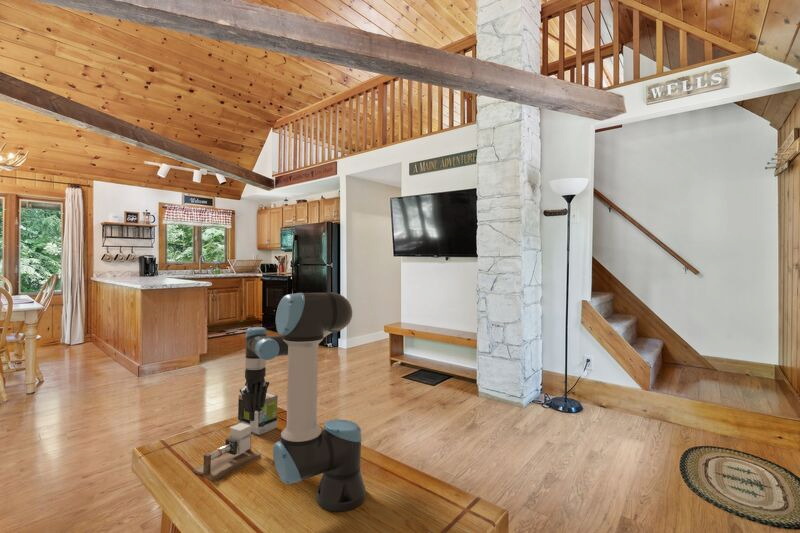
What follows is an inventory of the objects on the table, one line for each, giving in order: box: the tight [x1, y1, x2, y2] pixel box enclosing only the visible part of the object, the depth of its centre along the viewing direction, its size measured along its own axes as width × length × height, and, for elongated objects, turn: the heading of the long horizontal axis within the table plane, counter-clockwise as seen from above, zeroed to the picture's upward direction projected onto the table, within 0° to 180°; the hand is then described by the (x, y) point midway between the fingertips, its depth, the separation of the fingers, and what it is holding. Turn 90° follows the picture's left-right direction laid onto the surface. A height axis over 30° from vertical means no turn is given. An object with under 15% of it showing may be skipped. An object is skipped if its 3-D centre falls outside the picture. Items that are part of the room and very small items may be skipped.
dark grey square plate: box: [224, 437, 237, 455], centre depth 139 cm, size 5×1×5 cm, turn 64°
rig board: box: [192, 446, 262, 482], centre depth 138 cm, size 12×19×7 cm, turn 154°
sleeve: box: [229, 423, 252, 454], centre depth 143 cm, size 5×5×9 cm
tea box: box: [237, 391, 279, 436], centre depth 169 cm, size 15×10×15 cm, turn 58°
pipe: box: [208, 441, 238, 460], centre depth 138 cm, size 3×16×3 cm, turn 154°
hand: (254, 427), depth 149 cm, fingers closed
